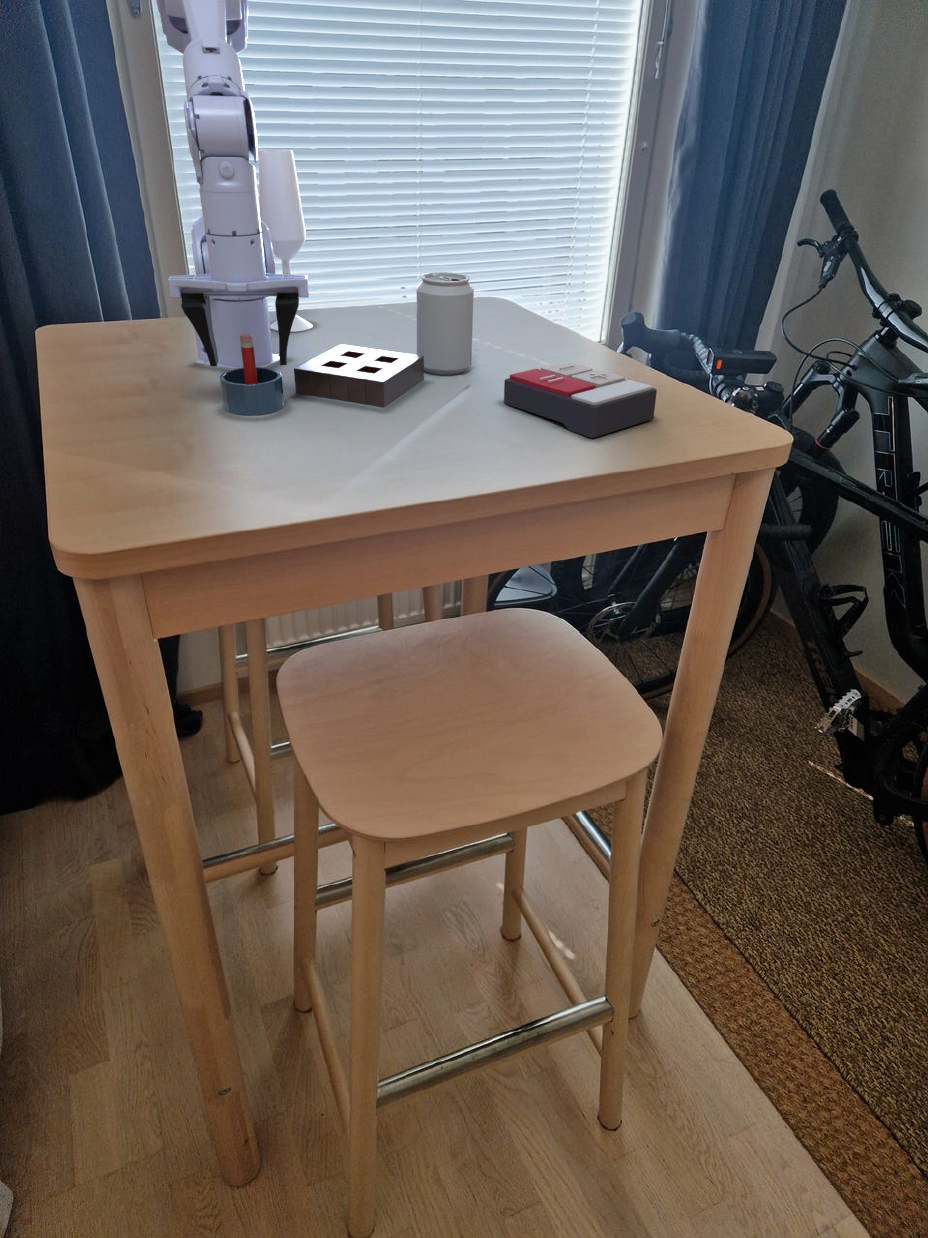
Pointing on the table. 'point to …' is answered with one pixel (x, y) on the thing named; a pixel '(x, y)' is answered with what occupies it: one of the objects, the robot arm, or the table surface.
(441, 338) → the can
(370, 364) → the pencil stand
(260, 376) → the cup
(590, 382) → the calculator
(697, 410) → the table surface
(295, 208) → the champagne flute
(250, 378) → the pencil
